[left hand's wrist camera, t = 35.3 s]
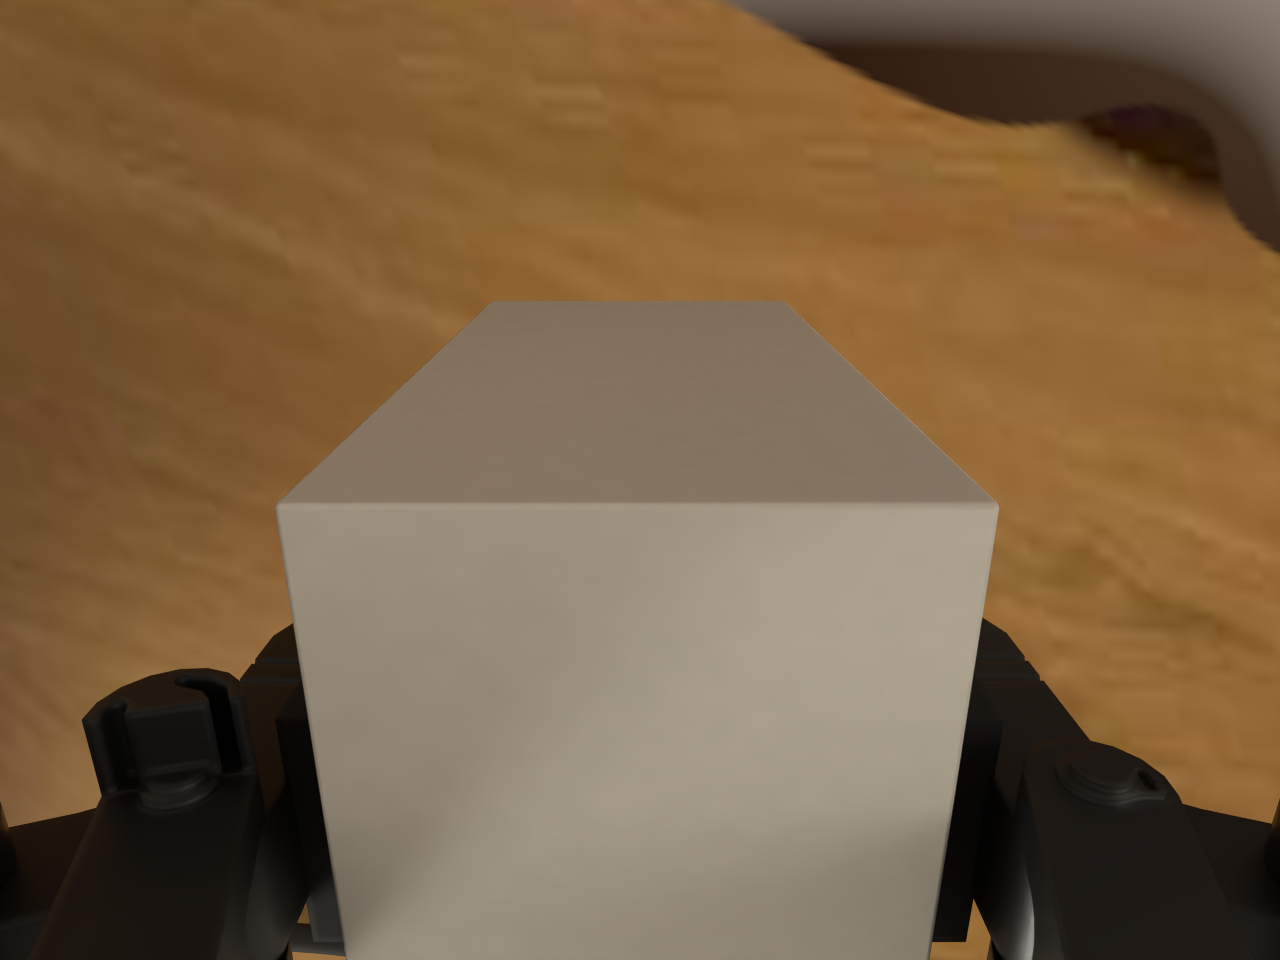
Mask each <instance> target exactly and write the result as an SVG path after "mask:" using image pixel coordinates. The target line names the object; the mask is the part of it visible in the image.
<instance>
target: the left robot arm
mask: <svg viewBox="0 0 1280 960" xmlns="http://www.w3.org/2000/svg"><path fill="white" fill-rule="evenodd" d="M1024 657H1025V656H1024V655H1023V654H1022V652H1021V651H1020V650H1019V649H1018V647H1017V646H1016V645H1015V643H1014V642H1013V641H1012V640H1011V638H1010V637H1009V636H1008V634H1007V633H1006V632H1004V631H1002V630H1001V629H999V628H998V627H996V626H995V625H993V624H992V623H990V622H988V621H987V620H985V619H984V618H982V622H981V628H980V635H979V641H978V648H977V654H976V661H975V667H974V673H973V680H972V686H971V693H970V699H969V706H968V712H967V719H966V725H965V732H964V738H963V745H962V751H961V758H960V764H959V771H958V777H957V784H956V790H955V797H954V803H953V810H952V816H951V822H950V829H949V835H948V842H947V848H946V855H945V861H944V868H943V874H942V881H941V887H940V894H939V900H938V907H937V913H936V920H935V926H934V933H933V939H932V942H966V938H967V932H968V927H969V921H970V915H971V909H972V904H973V898H974V901H975V903H976V905H977V907H978V909H979V912H980V914H981V916H982V918H983V920H984V923H985V925H986V927H987V929H988V931H989V934H990V936H991V940H990V945H989V950H988V956H987V960H1280V800H1279V803H1278V806H1277V809H1276V813H1275V816H1274V819H1273V822H1272V824H1270V823H1265V822H1261V821H1256V820H1251V819H1246V818H1242V817H1237V816H1232V815H1227V814H1222V813H1218V812H1213V811H1208V810H1203V809H1200V808H1196V807H1192V806H1189V805H1185V804H1182V802H1181V800H1180V797H1179V795H1178V794H1177V792H1176V791H1175V790H1174V788H1173V787H1172V786H1171V784H1170V783H1169V782H1168V780H1167V779H1166V778H1165V776H1163V775H1162V774H1161V773H1159V772H1158V771H1157V770H1155V769H1154V768H1153V767H1151V766H1150V765H1148V764H1147V763H1146V762H1144V761H1143V760H1142V759H1140V758H1137V757H1135V756H1133V755H1131V754H1129V753H1127V752H1124V751H1122V750H1120V749H1118V748H1116V747H1113V746H1109V745H1105V744H1101V743H1097V742H1093V741H1090V740H1089V738H1088V737H1087V736H1086V735H1085V733H1084V732H1083V731H1082V730H1081V728H1080V727H1079V726H1078V724H1077V723H1076V722H1075V721H1074V719H1073V718H1072V717H1071V715H1070V714H1069V713H1068V712H1067V710H1066V709H1065V708H1064V706H1063V705H1062V704H1061V703H1060V701H1059V700H1058V699H1057V697H1056V696H1055V695H1054V694H1053V692H1052V691H1051V690H1050V688H1049V687H1048V686H1047V685H1046V683H1045V682H1044V681H1040V676H1039V674H1038V673H1037V672H1036V670H1035V669H1034V668H1033V667H1032V665H1031V664H1030V663H1029V661H1025V659H1024ZM82 723H83V727H84V730H85V734H86V738H87V742H88V746H89V749H90V753H91V757H92V761H93V764H94V768H95V772H96V776H97V779H98V783H99V787H100V791H101V795H102V797H101V799H100V801H99V803H98V805H97V808H94V809H90V810H87V811H83V812H80V813H75V814H71V815H66V816H61V817H56V818H52V819H47V820H42V821H38V822H33V823H28V824H23V825H19V826H14V827H9V828H8V825H7V821H6V818H5V815H4V812H3V809H2V806H1V803H0V960H293V956H292V952H304V953H316V954H328V955H337V956H346V955H345V949H344V943H343V936H342V930H341V923H340V917H339V911H338V904H337V898H336V892H335V885H334V879H333V873H332V866H331V860H330V854H329V847H328V841H327V835H326V828H325V822H324V815H323V809H322V803H321V796H320V790H319V784H318V777H317V771H316V765H315V758H314V752H313V746H312V739H311V733H310V727H309V720H308V714H307V707H306V701H305V695H304V688H303V682H302V676H301V669H300V663H299V657H298V650H297V644H296V638H295V631H294V625H293V624H291V625H290V626H288V627H286V628H285V629H283V630H282V631H280V632H279V633H277V634H276V635H274V636H273V637H272V638H271V640H270V641H269V642H268V644H267V645H266V646H265V647H264V649H263V650H262V651H261V653H260V654H259V655H258V656H257V658H256V659H255V664H251V666H250V667H249V668H248V669H247V671H246V672H245V673H244V675H243V676H242V677H241V678H240V681H239V680H238V679H236V678H235V677H234V676H233V675H231V674H230V673H228V672H223V671H219V670H214V669H209V668H197V669H179V670H174V671H170V672H165V673H160V674H156V675H151V676H148V677H146V678H143V679H141V680H138V681H136V682H133V683H131V684H128V685H126V686H123V687H121V688H119V689H118V690H116V691H115V692H113V693H111V694H110V695H108V696H107V697H105V698H103V699H102V700H100V701H99V702H97V703H96V704H95V705H94V707H93V708H92V709H91V710H90V711H89V712H88V713H87V714H86V716H85V717H84V718H83V719H82ZM306 901H307V907H308V913H309V919H310V924H302V923H297V921H298V919H299V917H300V915H301V912H302V910H303V908H304V906H305V903H306Z"/></svg>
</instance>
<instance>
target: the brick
mask: <svg viewBox="0 0 1280 960" xmlns="http://www.w3.org/2000/svg"><path fill="white" fill-rule="evenodd" d="M275 511H276V517H277V523H278V530H279V536H280V542H281V549H282V555H283V561H284V568H285V574H286V580H287V587H288V593H289V600H290V606H291V612H292V619H293V625H294V631H295V638H296V644H297V650H298V657H299V663H300V669H301V676H302V682H303V688H304V695H305V701H306V707H307V714H308V720H309V727H310V733H311V739H312V746H313V752H314V758H315V765H316V771H317V777H318V784H319V790H320V796H321V803H322V809H323V815H324V822H325V828H326V835H327V841H328V847H329V854H330V860H331V866H332V873H333V879H334V885H335V892H336V898H337V904H338V911H339V917H340V923H341V930H342V936H343V943H344V949H345V955H346V960H929V959H930V952H931V946H932V939H933V933H934V926H935V920H936V913H937V907H938V900H939V894H940V887H941V881H942V874H943V868H944V861H945V855H946V848H947V842H948V835H949V829H950V822H951V816H952V810H953V803H954V797H955V790H956V784H957V777H958V771H959V764H960V758H961V751H962V745H963V738H964V732H965V725H966V719H967V712H968V706H969V699H970V693H971V686H972V680H973V673H974V667H975V661H976V654H977V648H978V641H979V635H980V628H981V622H982V615H983V609H984V602H985V596H986V589H987V583H988V576H989V570H990V563H991V557H992V550H993V544H994V537H995V531H996V525H997V518H998V512H999V507H998V503H997V502H996V501H995V500H994V499H993V498H992V497H991V496H989V495H988V494H987V493H986V492H985V491H984V490H983V489H982V488H981V487H980V486H979V485H978V484H977V483H976V482H975V481H974V480H973V479H972V478H970V477H969V476H968V475H967V474H966V473H965V472H964V471H963V470H962V469H961V468H960V467H959V466H958V465H957V464H956V463H955V462H954V461H953V460H951V459H950V458H949V457H948V456H947V455H946V454H945V453H944V452H943V451H942V450H941V449H940V448H939V447H938V446H937V445H936V444H935V443H934V442H932V441H931V440H930V439H929V438H928V437H927V436H926V435H925V434H924V433H923V432H922V431H921V430H920V429H919V428H918V427H917V426H916V425H915V424H913V423H912V422H911V421H910V420H909V419H908V418H907V417H906V416H905V415H904V414H903V413H902V412H901V411H900V410H899V409H898V408H897V407H896V406H894V405H893V404H892V403H891V402H890V401H889V400H888V399H887V398H886V397H885V396H884V395H883V394H882V393H881V392H880V391H879V390H878V389H877V388H875V387H874V386H873V385H872V384H871V383H870V382H869V381H868V380H867V379H866V378H865V377H864V376H863V375H862V374H861V373H860V372H859V371H858V370H856V369H855V368H854V367H853V366H852V365H851V364H850V363H849V362H848V361H847V360H846V359H845V358H844V357H843V356H842V355H841V354H840V353H839V352H837V351H836V350H835V349H834V348H833V347H832V346H831V345H830V344H829V343H828V342H827V341H826V340H825V339H824V338H823V337H822V336H821V335H820V334H818V333H817V332H816V331H815V330H814V329H813V328H812V327H811V326H810V325H809V324H808V323H807V322H806V321H805V320H804V319H803V318H802V317H801V316H799V315H798V314H797V313H796V312H795V311H794V310H793V309H792V308H791V307H790V306H789V305H788V304H787V303H786V302H784V301H493V302H491V303H490V304H489V305H488V306H487V307H485V308H484V309H483V310H482V311H481V312H480V313H479V314H478V315H477V316H476V317H475V318H474V319H473V320H472V321H471V322H469V323H468V324H467V325H466V326H465V327H464V328H463V329H462V330H461V331H460V332H459V333H458V334H457V335H456V336H455V337H454V338H452V339H451V340H450V341H449V342H448V343H447V344H446V345H445V346H444V347H443V348H442V349H441V350H440V351H439V352H438V353H436V354H435V355H434V356H433V357H432V358H431V359H430V360H429V361H428V362H427V363H426V364H425V365H424V366H423V367H422V368H421V369H419V370H418V371H417V372H416V373H415V374H414V375H413V376H412V377H411V378H410V379H409V380H408V381H407V382H406V383H405V384H404V385H402V386H401V387H400V388H399V389H398V390H397V391H396V392H395V393H394V394H393V395H392V396H391V397H390V398H389V399H388V400H386V401H385V402H384V403H383V404H382V405H381V406H380V407H379V408H378V409H377V410H376V411H375V412H374V413H373V414H372V415H371V416H369V417H368V418H367V419H366V420H365V421H364V422H363V423H362V424H361V425H360V426H359V427H358V428H357V429H356V430H355V431H353V432H352V433H351V434H350V435H349V436H348V437H347V438H346V439H345V440H344V441H343V442H342V443H341V444H340V445H339V446H338V447H336V448H335V449H334V450H333V451H332V452H331V453H330V454H329V455H328V456H327V457H326V458H325V459H324V460H323V461H322V462H320V463H319V464H318V465H317V466H316V467H315V468H314V469H313V470H312V471H311V472H310V473H309V474H308V475H307V476H306V477H305V478H303V479H302V480H301V481H300V482H299V483H298V484H297V485H296V486H295V487H294V488H293V489H292V490H291V491H290V492H289V493H287V494H286V495H285V496H284V497H283V498H282V499H281V500H280V501H279V502H278V503H277V505H276V508H275Z"/></svg>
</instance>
